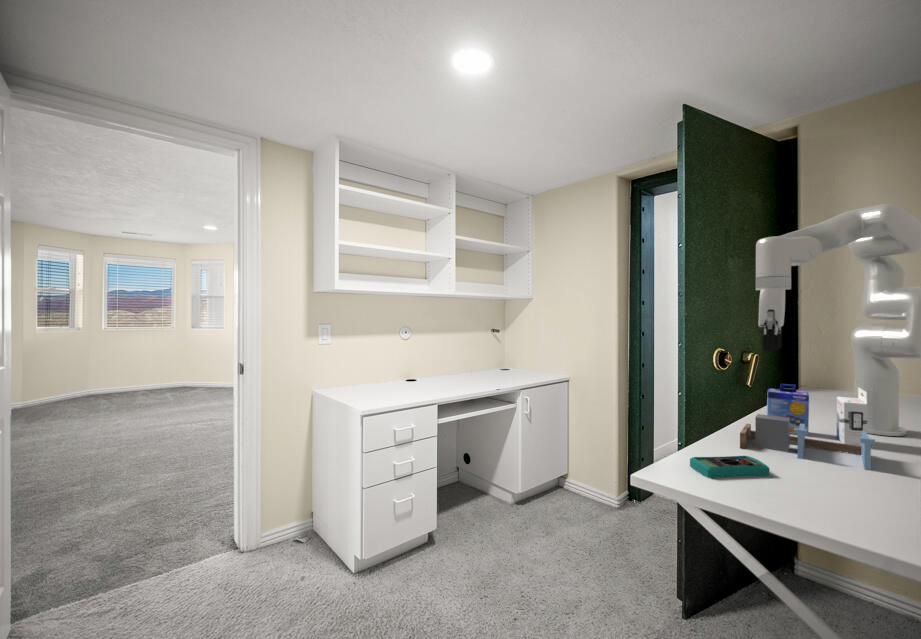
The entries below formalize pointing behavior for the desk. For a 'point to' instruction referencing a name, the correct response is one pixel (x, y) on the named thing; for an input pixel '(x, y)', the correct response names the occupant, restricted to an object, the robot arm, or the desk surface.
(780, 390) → the ink cartridge box
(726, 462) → the digital multimeter
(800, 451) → the pair of blue brackets
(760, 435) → the charcoal plug
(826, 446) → the brown l-shaped bracket
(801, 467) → the desk surface
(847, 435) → the ink box
